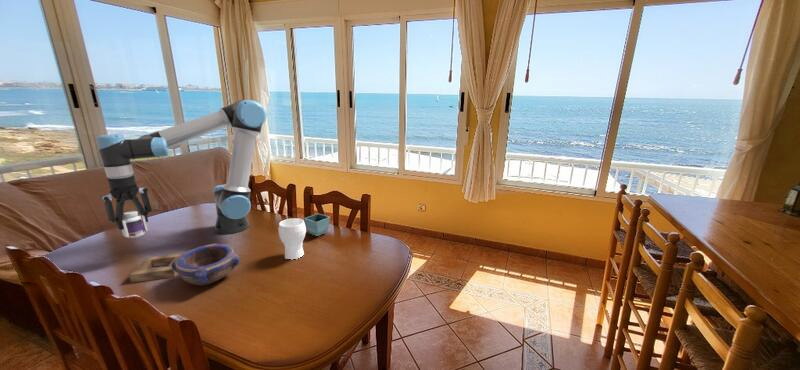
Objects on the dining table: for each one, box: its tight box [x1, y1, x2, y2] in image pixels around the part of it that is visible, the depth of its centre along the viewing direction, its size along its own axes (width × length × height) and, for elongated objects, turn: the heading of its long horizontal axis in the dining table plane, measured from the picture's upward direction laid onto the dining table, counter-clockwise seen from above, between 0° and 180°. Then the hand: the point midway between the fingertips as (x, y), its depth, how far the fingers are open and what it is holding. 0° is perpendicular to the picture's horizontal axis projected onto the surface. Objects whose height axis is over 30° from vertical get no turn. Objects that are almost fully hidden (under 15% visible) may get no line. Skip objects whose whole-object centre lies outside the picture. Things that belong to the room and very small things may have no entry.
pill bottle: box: [122, 210, 146, 239], centre depth 117 cm, size 5×5×10 cm
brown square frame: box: [128, 252, 185, 284], centre depth 112 cm, size 13×13×3 cm
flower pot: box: [303, 213, 331, 237], centre depth 145 cm, size 9×9×9 cm
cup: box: [277, 217, 307, 261], centre depth 123 cm, size 11×11×15 cm
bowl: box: [172, 243, 241, 286], centre depth 107 cm, size 18×18×10 cm
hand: (136, 233), depth 118 cm, fingers closed on pill bottle, 5 cm apart
